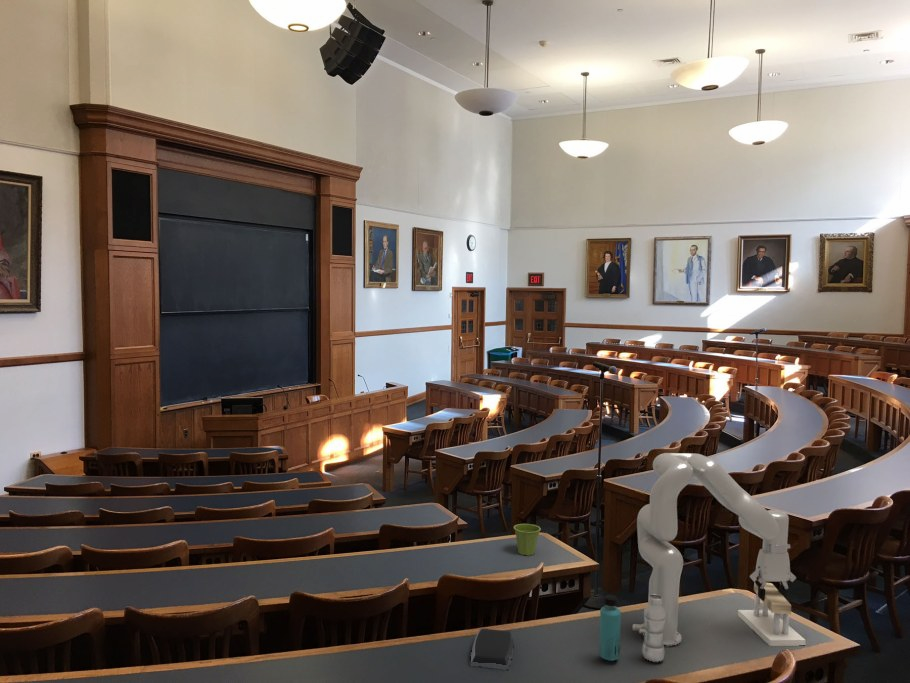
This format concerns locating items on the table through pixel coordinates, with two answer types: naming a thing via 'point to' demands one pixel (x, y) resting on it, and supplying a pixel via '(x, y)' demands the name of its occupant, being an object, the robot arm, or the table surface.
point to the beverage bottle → (609, 629)
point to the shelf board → (774, 599)
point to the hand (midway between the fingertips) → (771, 598)
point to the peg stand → (771, 626)
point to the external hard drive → (492, 646)
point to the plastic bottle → (654, 629)
